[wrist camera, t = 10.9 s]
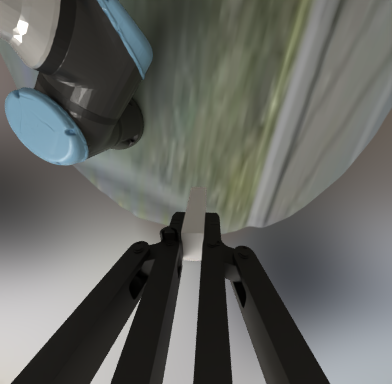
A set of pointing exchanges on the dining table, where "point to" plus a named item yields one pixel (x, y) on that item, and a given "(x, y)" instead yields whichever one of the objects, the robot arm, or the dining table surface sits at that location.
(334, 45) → the dining table surface
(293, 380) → the robot arm
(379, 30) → the dining table surface
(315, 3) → the dining table surface
